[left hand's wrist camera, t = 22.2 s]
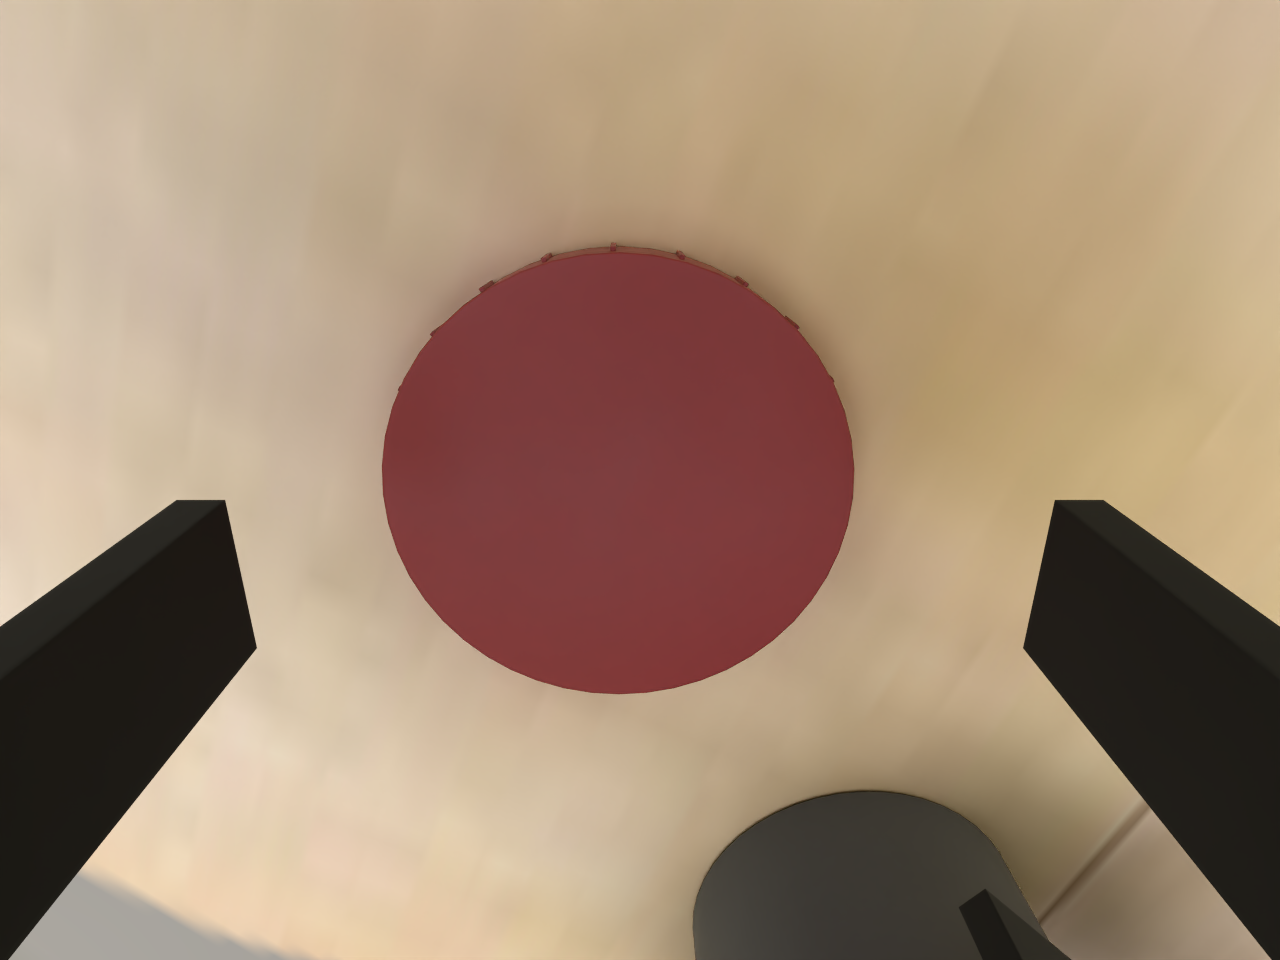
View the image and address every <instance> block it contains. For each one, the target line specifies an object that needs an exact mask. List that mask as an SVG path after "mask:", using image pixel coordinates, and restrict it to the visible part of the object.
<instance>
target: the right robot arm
mask: <svg viewBox="0 0 1280 960" xmlns="http://www.w3.org/2000/svg"><path fill="white" fill-rule="evenodd" d="M959 909H960V912H961V914H962V916H963V918H964V920H965V922H966V925H967V927H968V929H969V931H970V933H971V935H972V937H973V940H974V942H975V944H976V946H977V948H978V950H979V953H980V955H981V957H982V959H983V960H1071V959H1070V958H1068V957H1067V956H1066V955H1065V954H1064V953H1062V952H1061V951H1060V950H1059V949H1058V948H1056V947H1055V946H1054V945H1053V944H1052V943H1050V942H1049V941H1048V940H1047V939H1046V938H1044V937H1043V936H1042V935H1041V934H1040V933H1038V932H1037V931H1036V930H1035V929H1034V928H1032V927H1031V926H1030V925H1029V924H1028V923H1026V922H1025V921H1024V920H1023V919H1021V918H1020V917H1019V916H1018V915H1017V914H1015V913H1014V912H1013V911H1012V910H1011V909H1009V908H1008V907H1007V906H1006V905H1005V904H1003V903H1002V902H1001V901H1000V900H999V899H997V898H996V897H995V896H994V895H993V894H991V893H990V892H989V891H988V890H987V889H984V890H982V891H981V892H980V893H978V894H977V895H975V896H974V897H972V898H971V899H970V900H968V901H967V902H965V903H964V904H962V905H961V906H960V907H959Z"/></svg>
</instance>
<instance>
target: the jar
mask: <svg viewBox="0 0 1280 960" xmlns="http://www.w3.org/2000/svg"><path fill="white" fill-rule="evenodd" d="M984 889H987V890H988V891H989V892H990V893H991V894H993V895H994V896H995V897H996V898H997V899H999V900H1000V901H1001V902H1002V903H1003V904H1005V905H1006V906H1007V907H1008V908H1009V909H1011V910H1012V911H1013V912H1014V913H1015V914H1017V915H1018V916H1019V917H1020V918H1021V919H1023V920H1024V921H1025V922H1026V923H1028V924H1029V925H1030V926H1031V927H1032V928H1034V929H1035V930H1036V931H1037V932H1038V933H1040V934H1041V935H1042V936H1043V937H1044V938H1046V939H1047V937H1046V935H1045V933H1044V931H1043V930H1042V928H1041V926H1040V924H1039V923H1038V921H1037V919H1036V917H1035V915H1034V914H1033V912H1032V910H1031V908H1030V907H1029V905H1028V903H1027V901H1026V899H1025V898H1024V896H1023V894H1022V892H1021V891H1020V889H1019V887H1018V885H1017V883H1016V882H1015V880H1014V878H1013V876H1012V875H1011V873H1010V871H1009V869H1008V867H1007V866H1006V864H1005V862H1004V860H1003V859H1002V857H1001V855H1000V853H999V851H998V850H997V849H996V847H995V846H994V845H993V843H992V842H991V841H990V839H989V838H988V837H987V836H986V835H985V834H984V833H983V832H982V831H981V830H979V829H978V828H977V827H976V826H975V825H974V824H972V823H971V822H969V821H968V820H967V819H965V818H964V817H962V816H961V815H959V814H958V813H956V812H954V811H952V810H950V809H948V808H946V807H944V806H942V805H939V804H936V803H933V802H931V801H928V800H925V799H922V798H917V797H913V796H908V795H904V794H896V793H888V792H852V793H842V794H834V795H830V796H825V797H820V798H815V799H812V800H809V801H805V802H802V803H799V804H796V805H793V806H791V807H789V808H786V809H784V810H782V811H779V812H777V813H775V814H773V815H771V816H769V817H768V818H766V819H764V820H762V821H761V822H759V823H757V824H755V825H754V826H753V827H751V828H750V829H749V830H747V831H746V832H744V833H743V834H742V835H740V836H739V837H738V838H737V839H736V840H735V841H734V842H733V843H732V844H731V845H730V846H728V847H727V848H726V849H725V850H724V852H723V853H722V854H721V855H720V857H719V858H718V859H717V860H716V861H715V863H714V864H713V865H712V867H711V869H710V870H709V872H708V874H707V875H706V877H705V879H704V881H703V883H702V886H701V888H700V891H699V893H698V895H697V899H696V904H695V908H694V914H693V935H694V947H695V958H696V960H983V959H982V957H981V955H980V953H979V950H978V948H977V946H976V944H975V942H974V940H973V937H972V935H971V933H970V931H969V929H968V927H967V925H966V922H965V920H964V918H963V916H962V914H961V912H960V909H959V907H960V906H961V905H962V904H964V903H965V902H967V901H968V900H970V899H971V898H972V897H974V896H975V895H977V894H978V893H980V892H981V891H982V890H984ZM1047 940H1048V939H1047ZM1048 941H1049V940H1048Z"/></svg>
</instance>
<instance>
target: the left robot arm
mask: <svg viewBox="0 0 1280 960" xmlns="http://www.w3.org/2000/svg"><path fill="white" fill-rule="evenodd" d="M256 648H257V647H256V642H255V637H254V633H253V628H252V623H251V619H250V614H249V609H248V605H247V600H246V595H245V591H244V586H243V581H242V577H241V572H240V567H239V563H238V558H237V553H236V549H235V544H234V540H233V535H232V530H231V526H230V521H229V516H228V512H227V507H226V502H225V500H176V501H175V502H173V503H172V504H171V505H169V506H168V507H166V508H165V509H164V510H162V511H161V512H159V513H158V514H157V515H155V516H154V517H152V518H151V519H150V520H148V521H147V522H145V523H144V524H143V525H141V526H140V527H138V528H137V529H136V530H134V531H133V532H131V533H130V534H129V535H127V536H126V537H125V538H123V539H122V540H120V541H119V542H118V543H116V544H115V545H113V546H112V547H111V548H109V549H108V550H106V551H105V552H104V553H102V554H101V555H99V556H98V557H97V558H95V559H94V560H92V561H91V562H90V563H88V564H87V565H85V566H84V567H83V568H81V569H80V570H79V571H77V572H76V573H74V574H73V575H72V576H70V577H69V578H67V579H66V580H65V581H63V582H62V583H60V584H59V585H58V586H56V587H55V588H53V589H52V590H51V591H49V592H48V593H46V594H45V595H44V596H42V597H41V598H39V599H38V600H37V601H35V602H34V603H33V604H31V605H30V606H28V607H27V608H26V609H24V610H23V611H21V612H20V613H19V614H17V615H16V616H14V617H13V618H12V619H10V620H9V621H7V622H6V623H5V624H3V625H2V626H0V960H8V959H9V958H10V957H11V956H12V954H13V953H14V952H15V951H16V949H17V948H18V947H19V946H20V944H21V943H22V942H23V941H24V939H25V938H26V937H27V936H28V934H29V933H30V932H31V931H32V929H33V928H34V927H35V925H36V924H37V923H38V922H39V920H40V919H41V918H42V917H43V916H44V914H45V913H46V912H47V910H48V909H49V908H50V907H51V905H52V904H53V903H54V902H55V900H56V899H57V898H58V897H59V895H60V894H61V893H62V892H63V890H64V889H65V888H66V887H67V885H68V884H69V883H70V882H71V880H72V879H73V878H74V877H75V875H76V874H77V873H78V872H79V870H80V869H81V868H82V867H83V865H84V864H85V863H86V862H87V860H88V859H89V858H90V857H91V855H92V854H93V853H94V852H95V850H96V849H97V848H98V847H99V845H100V844H101V843H102V842H103V840H104V839H105V838H106V837H107V835H108V834H109V833H110V832H111V830H112V829H113V828H114V827H115V825H116V824H117V823H118V821H119V820H120V819H121V818H122V816H123V815H124V814H125V813H126V811H127V810H128V809H129V808H130V806H131V805H132V804H133V803H134V801H135V800H136V799H137V798H138V796H139V795H140V794H141V793H142V791H143V790H144V789H145V788H146V786H147V785H148V784H149V783H150V781H151V780H152V779H153V778H154V776H155V775H156V774H157V773H158V771H159V770H160V769H161V768H162V766H163V765H164V764H165V763H166V761H167V760H168V759H169V758H170V756H171V755H172V754H173V753H174V751H175V750H176V749H177V748H178V746H179V745H180V744H181V743H182V741H183V740H184V739H185V737H186V736H187V735H188V734H189V732H190V731H191V730H192V729H193V727H194V726H195V725H196V724H197V722H198V721H199V720H200V719H201V717H202V716H203V715H204V714H205V712H206V711H207V710H208V709H209V707H210V706H211V705H212V704H213V702H214V701H215V700H216V699H217V697H218V696H219V695H220V694H221V692H222V691H223V690H224V689H225V687H226V686H227V685H228V684H229V682H230V681H231V680H232V679H233V677H234V676H235V675H236V674H237V672H238V671H239V670H240V669H241V667H242V666H243V665H244V664H245V662H246V661H247V660H248V659H249V657H250V656H251V655H252V653H253V652H254V651H255V650H256ZM1023 648H1024V650H1025V651H1026V652H1027V653H1028V655H1029V656H1030V657H1031V659H1032V660H1033V661H1034V662H1035V664H1036V665H1037V666H1038V667H1039V669H1040V670H1041V671H1042V672H1043V674H1044V675H1045V676H1046V677H1047V679H1048V680H1049V681H1050V682H1051V684H1052V685H1053V686H1054V687H1055V689H1056V690H1057V691H1058V692H1059V694H1060V695H1061V696H1062V697H1063V699H1064V700H1065V701H1066V702H1067V704H1068V705H1069V706H1070V707H1071V709H1072V710H1073V711H1074V712H1075V714H1076V715H1077V716H1078V717H1079V719H1080V720H1081V721H1082V722H1083V724H1084V725H1085V726H1086V727H1087V729H1088V730H1089V731H1090V732H1091V734H1092V735H1093V736H1094V737H1095V739H1096V740H1097V741H1098V743H1099V744H1100V745H1101V746H1102V748H1103V749H1104V750H1105V751H1106V753H1107V754H1108V755H1109V756H1110V758H1111V759H1112V760H1113V761H1114V763H1115V764H1116V765H1117V766H1118V768H1119V769H1120V770H1121V771H1122V773H1123V774H1124V775H1125V776H1126V778H1127V779H1128V780H1129V781H1130V783H1131V784H1132V785H1133V786H1134V788H1135V789H1136V790H1137V791H1138V793H1139V794H1140V795H1141V796H1142V798H1143V799H1144V800H1145V801H1146V803H1147V804H1148V805H1149V806H1150V808H1151V809H1152V810H1153V811H1154V813H1155V814H1156V815H1157V816H1158V818H1159V819H1160V820H1161V821H1162V823H1163V824H1164V825H1165V827H1166V828H1167V829H1168V830H1169V832H1170V833H1171V834H1172V835H1173V837H1174V838H1175V839H1176V840H1177V842H1178V843H1179V844H1180V845H1181V847H1182V848H1183V849H1184V850H1185V852H1186V853H1187V854H1188V855H1189V857H1190V858H1191V859H1192V860H1193V862H1194V863H1195V864H1196V865H1197V867H1198V868H1199V869H1200V870H1201V872H1202V873H1203V874H1204V875H1205V877H1206V878H1207V879H1208V880H1209V882H1210V883H1211V884H1212V885H1213V887H1214V888H1215V889H1216V890H1217V892H1218V893H1219V894H1220V895H1221V897H1222V898H1223V899H1224V900H1225V902H1226V903H1227V904H1228V905H1229V907H1230V908H1231V909H1232V910H1233V912H1234V913H1235V914H1236V916H1237V917H1238V918H1239V919H1240V921H1241V922H1242V923H1243V924H1244V926H1245V927H1246V928H1247V929H1248V931H1249V932H1250V933H1251V934H1252V936H1253V937H1254V938H1255V939H1256V941H1257V942H1258V943H1259V944H1260V946H1261V947H1262V948H1263V949H1264V951H1265V952H1266V953H1267V954H1268V956H1269V957H1270V958H1271V959H1272V960H1280V626H1278V625H1277V624H1275V623H1274V622H1273V621H1271V620H1270V619H1268V618H1267V617H1266V616H1264V615H1263V614H1261V613H1260V612H1259V611H1257V610H1256V609H1254V608H1253V607H1252V606H1250V605H1249V604H1247V603H1246V602H1245V601H1243V600H1242V599H1241V598H1239V597H1238V596H1236V595H1235V594H1234V593H1232V592H1231V591H1229V590H1228V589H1227V588H1225V587H1224V586H1222V585H1221V584H1220V583H1218V582H1217V581H1215V580H1214V579H1213V578H1211V577H1210V576H1208V575H1207V574H1206V573H1204V572H1203V571H1201V570H1200V569H1199V568H1197V567H1196V566H1195V565H1193V564H1192V563H1190V562H1189V561H1188V560H1186V559H1185V558H1183V557H1182V556H1181V555H1179V554H1178V553H1176V552H1175V551H1174V550H1172V549H1171V548H1169V547H1168V546H1167V545H1165V544H1164V543H1162V542H1161V541H1160V540H1158V539H1157V538H1155V537H1154V536H1153V535H1151V534H1150V533H1149V532H1147V531H1146V530H1144V529H1143V528H1142V527H1140V526H1139V525H1137V524H1136V523H1135V522H1133V521H1132V520H1130V519H1129V518H1128V517H1126V516H1125V515H1123V514H1122V513H1121V512H1119V511H1118V510H1116V509H1115V508H1114V507H1112V506H1111V505H1109V504H1108V503H1107V502H1105V501H1104V500H1055V502H1054V507H1053V512H1052V516H1051V521H1050V526H1049V530H1048V535H1047V540H1046V544H1045V549H1044V553H1043V558H1042V563H1041V567H1040V572H1039V577H1038V581H1037V586H1036V591H1035V595H1034V600H1033V605H1032V609H1031V614H1030V619H1029V623H1028V628H1027V633H1026V637H1025V642H1024V647H1023Z"/></svg>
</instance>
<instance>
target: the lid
mask: <svg viewBox="0 0 1280 960" xmlns="http://www.w3.org/2000/svg"><path fill="white" fill-rule="evenodd" d="M747 286H748V283H747V282H745V281H744V280H743V279H741V278H740V277H738V276H736V278H735V279H734V278H732V277H731V276H729V275H727V274H725V273H723V272H721V271H719V270H717V269H715V268H714V267H712V266H709V265H707V264H704V263H701V262H699V261H696V260H693V259H690V258H688V257H685V255H684V254H683V253H682V252H681V251H678V250H677V252H676V254H673V253H669V252H664V251H659V250H655V249H648V248H635V247H623V246H618V247H616V243H611V246H610V247H600V248H588V249H582V250H577V251H572V252H567V253H562V254H558V255H555V256H552V254H551V253H548V254H546V255H545V256H544V257H542V258H541V260H540V261H537V262H535V263H532V264H529V265H527V266H525V267H523V268H521V269H519V270H517V271H515V272H513V273H511V274H509V275H507V276H505V277H503V278H502V279H500V280H499V281H498V282H496V283H495V284H494V282H493V281H490V282H489V283H487V284H486V285H484V286H482V287H481V288H480V289H479V290H480V292H482V293H480V294H479V295H477V296H476V297H475V298H473V299H472V300H470V301H469V302H467V303H466V304H465V305H463V306H462V307H461V308H460V309H459V310H458V311H457V312H456V313H455V314H454V315H452V316H451V317H450V318H449V319H448V320H447V321H446V322H445V323H444V324H442V325H441V326H439V327H438V328H437V329H435V330H434V331H433V332H432V333H431V334H430V335H431V336H432V338H431V339H430V340H429V341H428V342H427V344H426V345H425V346H424V347H423V349H422V350H421V351H420V353H419V354H418V356H417V358H416V359H415V361H414V363H413V364H412V366H411V368H410V369H409V371H408V373H407V375H406V376H405V378H404V380H403V382H402V385H401V386H400V387H399V389H398V391H399V392H398V394H397V397H396V399H395V402H394V404H393V407H392V410H391V414H390V418H389V422H388V426H387V430H386V434H385V441H384V451H383V460H382V479H383V497H384V502H385V508H386V513H387V519H388V524H389V527H390V530H391V533H392V536H393V539H394V542H395V545H396V548H397V551H398V553H399V555H400V557H401V559H402V561H403V564H404V566H405V568H406V570H407V572H408V574H409V576H410V578H411V579H412V581H413V582H414V584H415V585H416V587H417V588H418V590H419V591H420V593H421V594H422V596H423V597H424V599H425V600H426V601H427V603H428V604H429V605H430V606H431V607H432V609H433V610H434V611H435V612H436V613H437V614H438V616H439V617H440V618H441V619H442V620H443V621H444V622H445V623H446V624H447V625H448V626H449V627H450V628H451V629H452V630H454V631H455V632H456V633H457V634H458V635H459V636H460V637H461V638H462V639H463V640H465V641H466V642H467V643H469V644H470V645H472V646H473V647H474V648H476V649H477V650H479V651H480V652H481V653H483V654H484V655H485V656H487V657H489V658H491V659H492V660H494V661H496V662H498V663H500V664H501V665H503V666H505V667H507V668H509V669H511V670H513V671H515V672H518V673H520V674H523V675H525V676H527V677H530V678H532V679H535V680H537V681H541V682H544V683H548V684H551V685H555V686H558V687H562V688H567V689H573V690H579V691H584V692H590V693H607V694H630V693H647V692H653V691H659V690H665V689H671V688H676V687H679V686H683V685H686V684H690V683H693V682H697V681H700V680H703V679H705V678H708V677H710V676H713V675H715V674H718V673H720V672H722V671H725V670H727V669H729V668H731V667H732V666H734V665H736V664H738V663H740V662H742V661H743V660H745V659H747V658H749V657H751V656H752V655H753V654H755V653H756V652H758V651H759V650H760V649H762V648H763V647H765V646H766V645H767V644H769V643H770V642H771V641H773V640H774V639H775V638H776V637H777V636H778V635H779V634H781V633H782V632H783V631H784V630H785V629H786V628H787V627H788V626H789V625H790V624H791V623H793V622H794V620H795V619H796V618H797V617H798V616H799V615H800V613H801V612H802V611H803V610H804V609H805V608H806V606H807V605H808V604H809V603H810V602H811V600H812V599H813V597H814V596H815V594H816V593H817V591H818V590H819V588H820V587H821V585H822V584H823V582H824V581H825V579H826V578H827V576H828V573H829V571H830V569H831V567H832V565H833V563H834V561H835V559H836V557H837V555H838V553H839V550H840V547H841V544H842V541H843V538H844V535H845V532H846V529H847V526H848V521H849V516H850V510H851V505H852V499H853V484H854V461H853V451H852V440H851V436H850V432H849V427H848V423H847V419H846V415H845V411H844V408H843V406H842V403H841V401H840V398H839V396H838V393H837V391H836V388H835V386H834V383H833V382H834V380H833V378H832V377H831V376H830V375H829V374H828V372H827V371H826V369H825V367H824V365H823V364H822V362H821V360H820V359H819V357H818V355H817V354H816V353H815V351H814V350H813V349H812V348H811V346H810V345H809V344H808V342H807V341H806V340H805V339H804V337H803V336H802V335H801V333H800V332H799V331H798V329H799V326H798V325H797V324H796V323H794V322H793V321H792V320H791V319H789V318H788V317H787V316H785V317H784V316H783V315H782V314H781V313H779V312H778V311H777V310H776V309H775V308H774V307H773V306H772V305H770V304H769V303H768V302H766V301H765V300H764V299H763V298H761V297H760V296H759V295H757V294H756V293H754V292H753V291H752V290H750V289H749V288H748V287H747Z"/></svg>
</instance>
